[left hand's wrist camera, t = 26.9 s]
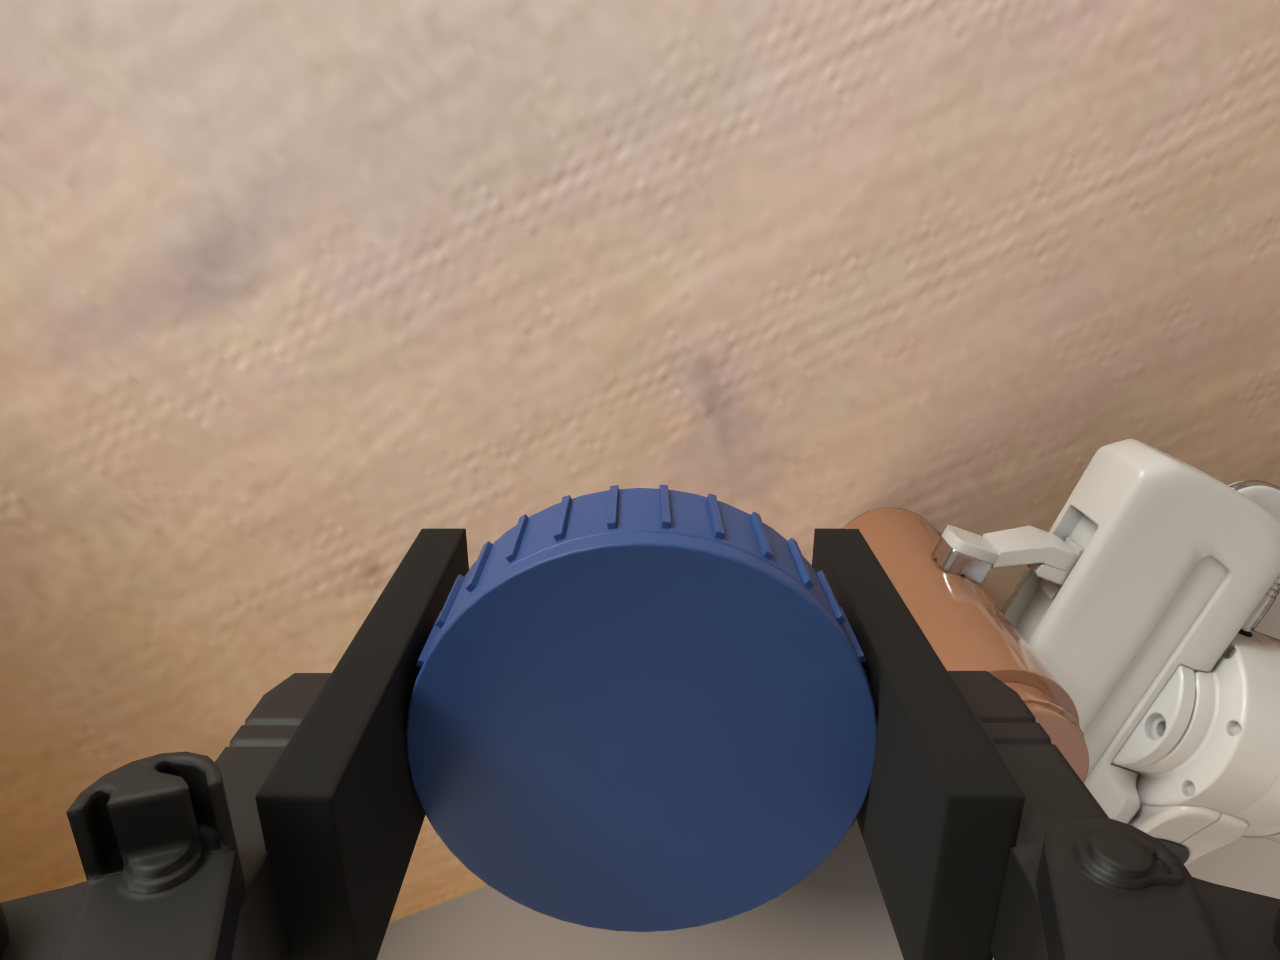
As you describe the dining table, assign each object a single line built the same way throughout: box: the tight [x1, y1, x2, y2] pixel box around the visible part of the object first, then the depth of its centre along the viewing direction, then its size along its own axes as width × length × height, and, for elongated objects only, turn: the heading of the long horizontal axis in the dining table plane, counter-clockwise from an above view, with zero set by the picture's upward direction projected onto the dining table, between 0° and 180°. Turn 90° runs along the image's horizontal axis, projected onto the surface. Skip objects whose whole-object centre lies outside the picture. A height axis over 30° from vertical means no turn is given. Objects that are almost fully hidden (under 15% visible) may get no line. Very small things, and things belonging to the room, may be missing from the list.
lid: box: [406, 485, 877, 932], centre depth 11 cm, size 6×6×2 cm
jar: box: [844, 508, 1089, 783], centre depth 33 cm, size 6×6×16 cm
